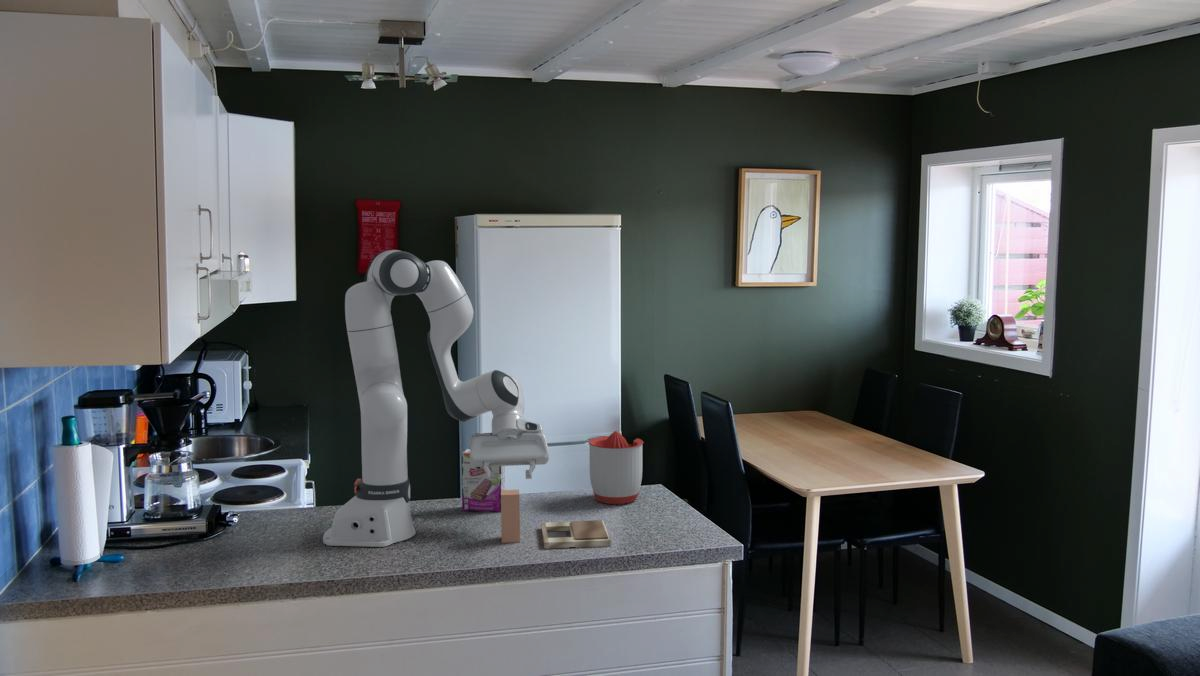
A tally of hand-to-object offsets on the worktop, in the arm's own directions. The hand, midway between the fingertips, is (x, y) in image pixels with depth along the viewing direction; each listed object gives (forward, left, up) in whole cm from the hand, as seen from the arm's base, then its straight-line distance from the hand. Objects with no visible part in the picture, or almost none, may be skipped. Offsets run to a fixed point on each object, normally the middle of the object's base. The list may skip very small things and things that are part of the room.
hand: (510, 478), depth 235 cm
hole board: (+16, -6, -14) cm, 22 cm away
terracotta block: (0, -6, -14) cm, 15 cm away
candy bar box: (-7, +21, -14) cm, 26 cm away
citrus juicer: (+31, +27, -14) cm, 44 cm away
